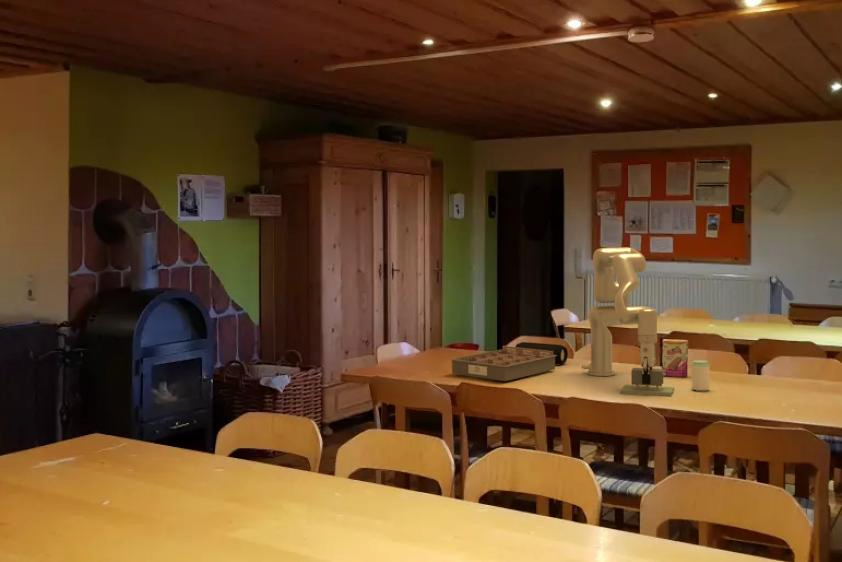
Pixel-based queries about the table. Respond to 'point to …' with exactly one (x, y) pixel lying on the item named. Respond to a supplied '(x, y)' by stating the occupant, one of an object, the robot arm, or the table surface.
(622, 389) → the pin board
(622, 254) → the robot arm
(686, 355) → the candy bar box
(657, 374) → the plug housing
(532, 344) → the portable speaker
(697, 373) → the can
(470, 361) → the organizer tray
